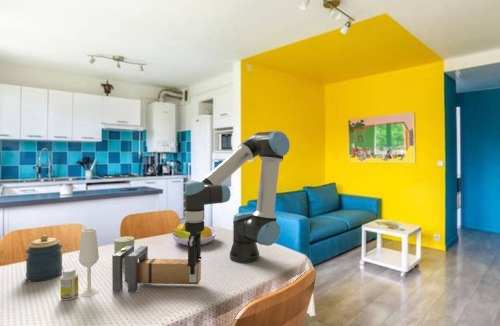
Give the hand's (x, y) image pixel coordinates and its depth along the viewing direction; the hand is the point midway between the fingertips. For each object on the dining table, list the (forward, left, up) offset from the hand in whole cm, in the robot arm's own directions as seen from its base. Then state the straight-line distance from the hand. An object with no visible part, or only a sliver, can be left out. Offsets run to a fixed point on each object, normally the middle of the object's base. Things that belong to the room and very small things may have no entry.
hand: (194, 278), depth 117 cm
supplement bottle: (+44, +11, -4) cm, 45 cm away
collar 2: (+23, 0, -3) cm, 23 cm away
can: (+40, -24, -4) cm, 47 cm away
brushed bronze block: (+10, 0, -1) cm, 10 cm away
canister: (+67, -7, -4) cm, 67 cm away
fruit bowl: (+14, -57, -4) cm, 59 cm away
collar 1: (+29, 0, -3) cm, 29 cm away
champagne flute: (+39, +7, -4) cm, 40 cm away
